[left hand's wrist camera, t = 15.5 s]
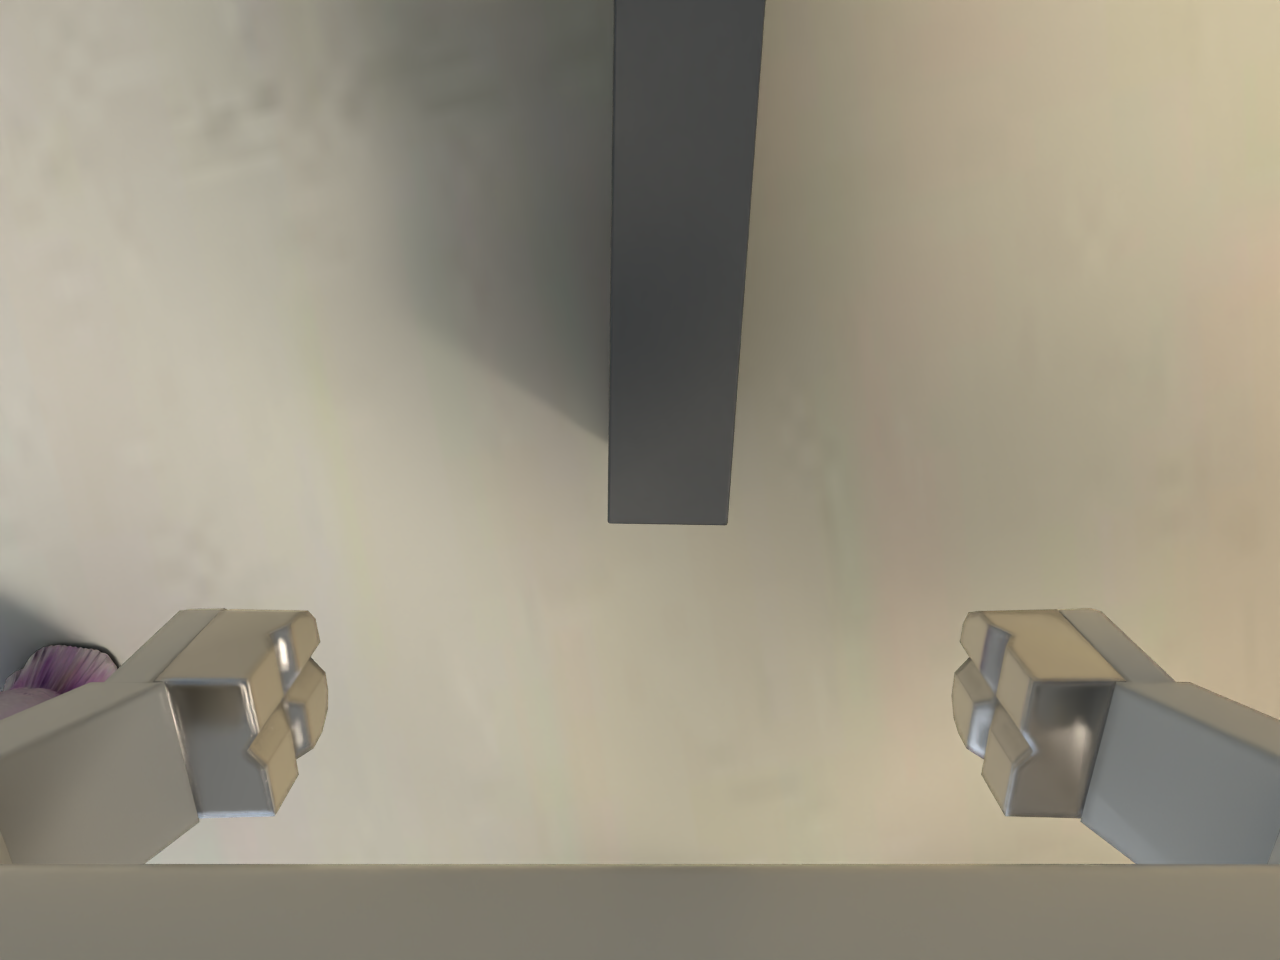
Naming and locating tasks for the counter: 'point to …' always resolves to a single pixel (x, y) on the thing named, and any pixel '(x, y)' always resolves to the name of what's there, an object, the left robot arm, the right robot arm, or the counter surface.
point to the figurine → (53, 676)
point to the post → (679, 251)
